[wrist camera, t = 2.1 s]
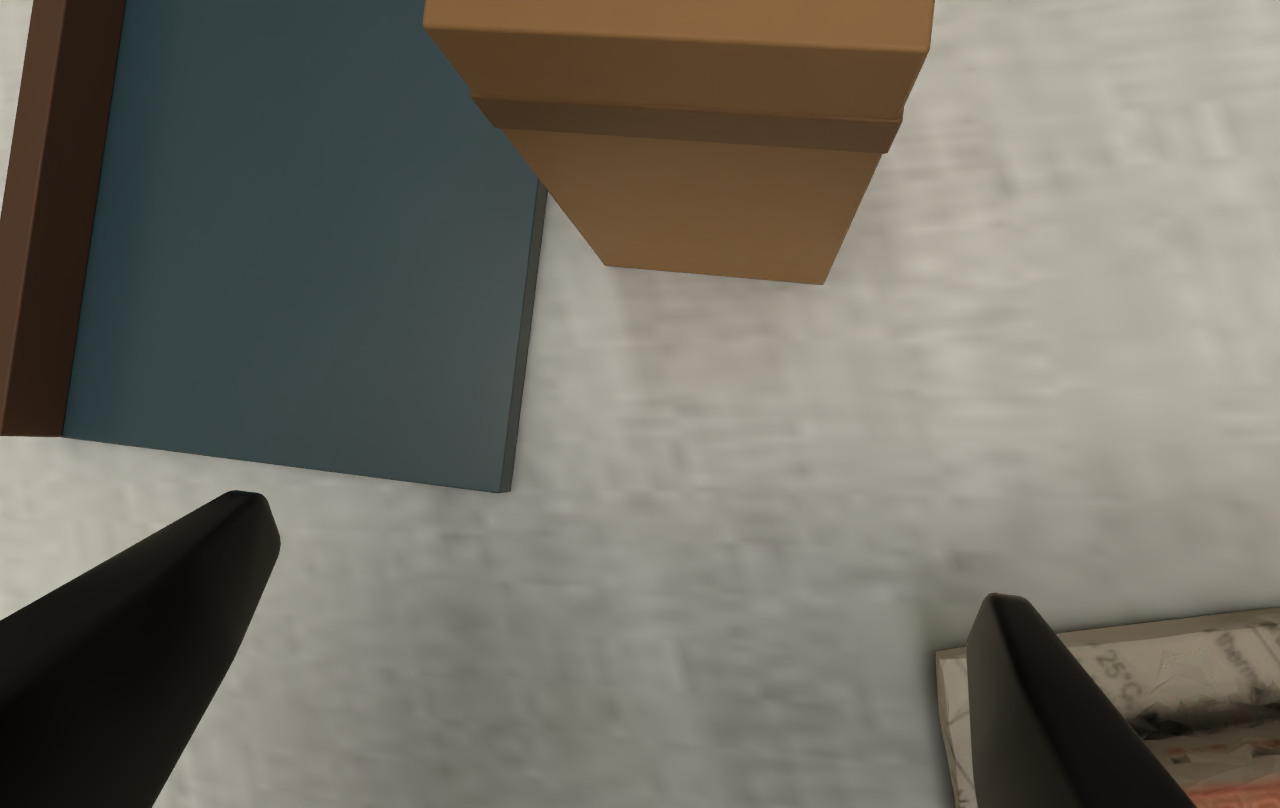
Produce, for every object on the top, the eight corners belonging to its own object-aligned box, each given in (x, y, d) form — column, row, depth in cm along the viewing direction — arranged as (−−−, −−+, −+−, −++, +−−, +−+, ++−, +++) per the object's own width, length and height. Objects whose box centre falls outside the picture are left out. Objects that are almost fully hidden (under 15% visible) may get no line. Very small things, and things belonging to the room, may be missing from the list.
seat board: (511, 491, 23) (475, 497, 20) (60, 434, 25) (-34, 431, 22) (596, -203, 24) (574, -297, 21) (154, -208, 26) (76, -294, 23)
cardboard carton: (825, 287, 22) (934, 57, 9) (602, 267, 23) (414, 30, 10) (845, 101, 22) (979, -380, 9) (623, 87, 23) (467, -370, 10)
